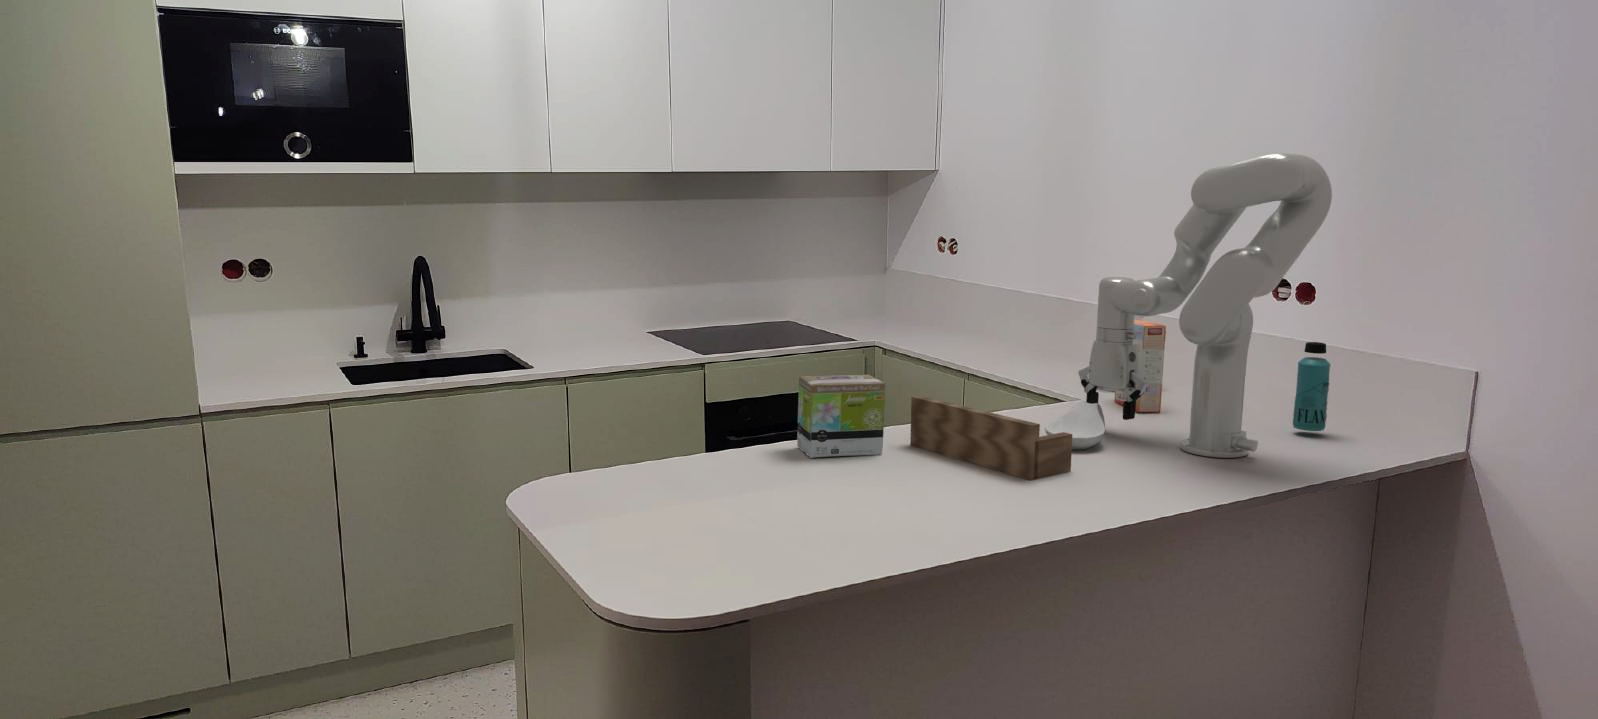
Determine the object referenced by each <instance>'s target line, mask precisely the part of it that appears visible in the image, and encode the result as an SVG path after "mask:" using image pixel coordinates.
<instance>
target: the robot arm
mask: <svg viewBox="0 0 1598 719" xmlns="http://www.w3.org/2000/svg"><path fill="white" fill-rule="evenodd" d="M1190 197H1191V202H1192V206H1190V208H1189V209H1188V211H1187V212H1186V214H1184V217H1183V218H1182V219H1181V220H1180V221H1179V223H1178V224H1177V226H1176V227H1175V228H1174V232H1173V234H1174V238H1175V242H1176V243H1175V244H1176V248H1175V252H1174V254H1173V256H1172V258H1171V259H1170V261H1169V263H1168V264H1167V265H1166V267H1165V268H1164V270H1163V271H1162V272H1161V273H1160V274H1159V276H1158V277H1156V278H1155V277H1154V278H1148V279H1140V280H1138V279H1137V280H1134V279H1133V278H1130V277H1121V276H1109V277H1108V276H1107V277H1103V278H1102V279H1101V280H1100V281H1099V286H1098V298H1097V317H1096V318H1097V319H1096V333H1095V334H1096V336H1095V340H1093V344H1092V347H1091V351H1090V355H1089V356H1090V357H1089V362H1088V363H1089V364H1088V366H1087V367H1084V368H1082V369H1079V370H1078V377H1079V380H1080V383H1081V386H1082V387H1083V391H1084V393H1085V394H1086V398H1085V399H1086V400H1085V402H1087V403H1090V404H1094V403H1098V404H1099V399H1100V398H1099V396H1100V394H1099V392H1098V389H1100V388H1101V389H1103V388H1106V389H1111V390H1117V391H1122V393H1123V395H1124V397H1125V398H1126V401H1124V403H1123V405H1122V420H1124V421H1129V420H1134V419H1135V416H1136V401H1137V400H1139V398H1140V397H1141V396H1142V395H1143V394H1144V391H1145V389H1146V387H1147V386H1148V383H1147V382H1146V381H1145V380H1144V379H1143V378H1142V377H1140V376H1139V363H1138V352H1137V346H1136V344H1134V343H1133V339H1134V340H1135V339H1136V338H1137V334H1136V333H1133V332H1134V316H1135V315H1139V316H1144V317H1152V316H1158V315H1161V314H1162V315H1163V314H1167V313H1172V312H1173V311H1175V310H1176V309H1178V308H1179V307H1180V306H1181V305H1182V304H1183V303H1184V302H1185V301H1186V299H1187V298H1188V299H1187V301H1186V302H1185V304H1184V305H1183V307H1182V308H1181V311H1180V314H1179V317H1178V318H1179V320H1178V324H1179V329H1180V332H1181V334H1182V335H1183V337H1184V338H1185V339H1186V340H1187V341H1188V342H1190V343H1191V344H1195V345H1196V350H1195V356H1194V363H1193V364H1194V365H1193V377H1192V389H1191V390H1192V393H1191V410H1190V421H1189V422H1190V424H1189V437H1188V438H1187V439H1182V441H1181V442H1180V449H1181V450H1182V451H1184V452H1186V453H1189V454H1192V455H1196V456H1197V455H1198V456H1201V457H1202V456H1203V457H1209V458H1218V459H1220V458H1221V459H1222V458H1223V459H1227V458H1228V459H1229V458H1230V459H1232V458H1241V457H1245V456H1247V455H1248V454H1249V452H1252V453H1253V452H1256V451H1257V449H1258V445H1259V442H1258V440H1257V439H1250V438H1247V431H1246V430H1242V424H1243V423H1242V422H1243V413H1244V412H1243V409H1244V400H1245V398H1244V397H1245V385H1246V384H1245V383H1246V375H1247V374H1246V373H1247V362H1248V354H1249V346H1250V342H1251V338H1252V332H1253V327H1254V315H1253V309H1252V307H1251V306H1250V303H1251V301H1252V300H1253V299H1254V298H1261V297H1263V296H1267V295H1269V294H1270V293H1272V292H1273V291H1274V290H1275V289H1276V288H1277V287H1278V285H1279V284H1280V283H1281V281H1282V280H1283V278H1284V277H1285V276H1286V275H1287V273H1288V272H1289V270H1290V269H1291V268H1292V266H1293V265H1294V263H1295V262H1296V261H1297V259H1298V258H1299V257H1300V256H1301V254H1302V253H1303V251H1304V250H1305V249H1306V247H1307V246H1308V244H1309V243H1310V242H1311V240H1312V239H1313V238H1314V236H1315V235H1316V234H1317V233H1318V231H1319V229H1320V228H1321V226H1322V225H1323V224H1324V222H1325V219H1326V218H1327V217H1328V214H1329V211H1330V209H1331V204H1332V201H1333V200H1332V198H1333V190H1332V185H1331V181H1330V178H1329V176H1328V173H1327V172H1326V170H1325V169H1324V168H1323V165H1321V164H1320V163H1319V162H1318V161H1316V160H1315V159H1313V158H1312V157H1309V156H1306V155H1304V154H1303V155H1302V154H1296V153H1283V152H1281V153H1279V152H1276V153H1269V154H1265V155H1261V156H1257V157H1253V158H1249V159H1245V160H1241V161H1238V162H1235V163H1231V164H1225V165H1221V166H1217V167H1212V168H1210V169H1208V170H1205V171H1203V172H1202V173H1200V174H1199V176H1198V177H1196V179H1195V180H1194V182H1193V184H1192V187H1191V191H1190ZM1272 202H1280V203H1279V205H1278V207H1277V208H1276V210H1274V211H1273V213H1272V214H1271V215H1269V217H1268V218H1267V219H1266V220H1265V222H1264V223H1263V224H1262V225H1261V227H1260V228H1259V230H1258V232H1257V233H1256V234H1255V236H1254V237H1253V238H1252V239H1251V241H1250V242H1249V243H1248V244H1247V245H1246V246H1245V247H1243V248H1235V249H1233V250H1229V251H1227V252H1226V253H1224V254H1222V255H1221V256H1219V258H1218V259H1217V260H1216V261H1215V262H1214V263H1213V265H1212V266H1211V267H1210V268H1209V270H1208V271H1207V272H1206V274H1205V271H1206V269H1207V267H1208V265H1209V263H1210V260H1211V258H1212V254H1213V253H1214V251H1215V249H1216V248H1217V247H1218V246H1219V245H1220V243H1221V242H1222V241H1223V239H1224V238H1225V236H1226V235H1227V234H1228V233H1229V231H1230V230H1231V229H1232V228H1233V226H1234V224H1235V223H1236V222H1237V221H1238V219H1239V218H1241V216H1242V214H1243V213H1244V211H1246V209H1247V208H1249V207H1253V206H1258V205H1261V204H1267V203H1272ZM1204 274H1205V275H1204ZM1202 277H1203V278H1202ZM1190 294H1191V295H1190ZM1136 388H1137V389H1136ZM1106 389H1105V390H1106ZM1135 389H1136V390H1135ZM1130 394H1131V395H1130Z"/></svg>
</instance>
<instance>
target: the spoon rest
mask: <svg viewBox="0 0 1598 719" xmlns="http://www.w3.org/2000/svg"><path fill="white" fill-rule="evenodd" d="M1044 431H1045V434H1046V435H1052V434H1057V433H1062V432H1065V433H1070V434H1072V450H1086V449H1089V448H1090V447H1092V446H1095V445H1096V444H1098V443H1099V442H1100V441H1101V439H1102V438H1103V437H1104V435H1105V432H1106V421H1105V415H1104V412H1103V409H1102V406H1101V405H1100V403H1099V402H1098V403H1094V404H1090V403H1087V402H1086V401H1081V402H1079V403H1078V404H1076V405H1075V406H1073V407H1072V408H1070V409H1069V410H1068V411H1066V412H1065V413H1062V414H1061V415H1059V416H1058V417H1056V418H1055V419H1053V420H1051V421H1050V422H1048V423H1047V424H1046V425H1045V426H1044Z"/></svg>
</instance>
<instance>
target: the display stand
mask: <svg viewBox="0 0 1598 719" xmlns="http://www.w3.org/2000/svg"><path fill="white" fill-rule="evenodd" d="M910 401H911V403H910V405H911V406H910V438H909V440H910V446H913V447H915V446H917V447H916V448H918V449H919V448H920V449H923V450H926V451H930V452H932V453H935V454H940V455H942V456H945V457H950V458H953V459H956V460H960V461H962V462H966V463H969V464H974V465H977V466H980V467H983V468H987V469H991V470H993V471H997V472H1001V473H1004V474H1007V475H1010V476H1014V477H1016V478H1021V479H1024V480H1028V481H1032V480H1038V479H1042V478H1046V477H1051V476H1056V475H1059V474H1065V473H1068V472H1069V473H1070V472H1071V471H1072V470H1071V469H1072V455H1073V454H1072V452H1073V451H1072V450H1073V449H1072V434H1070V433H1065V432H1062V433H1057V434H1052V435H1047V434H1046V435H1041V436H1040V431H1041V425H1040V424H1039V423H1036V422H1032V421H1027V420H1024V419H1021V418H1016V417H1011V416H1007V415H1002V414H999V413H993V412H989V411H986V410H982V409H976V408H972V407H968V406H966V405H965V406H964V405H961V404H960V405H959V404H955V403H951V402H946V401H944V400H938V399H934V398H929V397H925V396H921V395H914V396H911V400H910Z"/></svg>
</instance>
